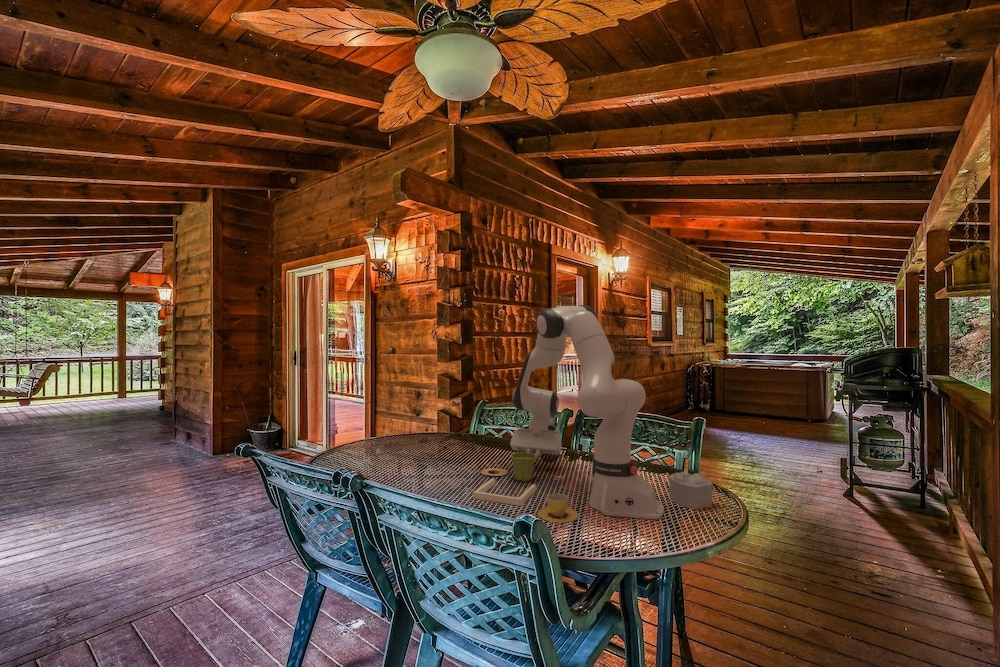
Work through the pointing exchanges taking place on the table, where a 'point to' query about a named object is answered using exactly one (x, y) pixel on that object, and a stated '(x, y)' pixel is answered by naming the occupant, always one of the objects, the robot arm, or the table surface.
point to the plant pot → (523, 465)
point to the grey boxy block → (690, 490)
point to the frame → (501, 498)
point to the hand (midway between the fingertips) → (531, 460)
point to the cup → (558, 509)
